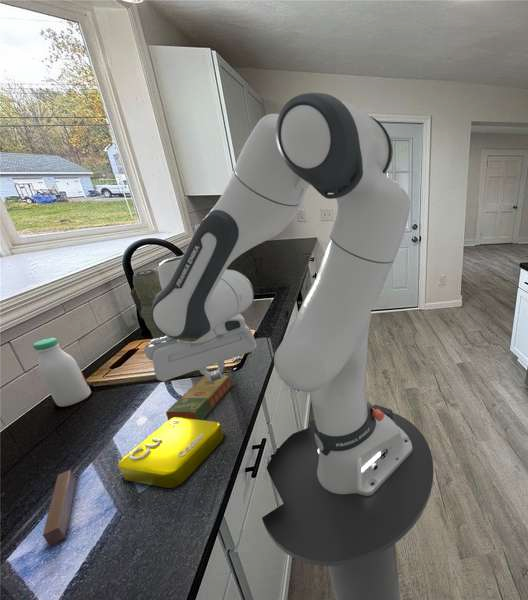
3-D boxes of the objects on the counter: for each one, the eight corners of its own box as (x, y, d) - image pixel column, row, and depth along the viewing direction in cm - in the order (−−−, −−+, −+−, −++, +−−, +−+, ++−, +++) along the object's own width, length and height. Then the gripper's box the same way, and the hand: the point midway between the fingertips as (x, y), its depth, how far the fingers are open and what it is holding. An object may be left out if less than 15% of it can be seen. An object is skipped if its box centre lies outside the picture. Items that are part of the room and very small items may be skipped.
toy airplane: (247, 338, 127) (246, 333, 126) (250, 363, 109) (249, 357, 108) (226, 344, 124) (225, 338, 123) (226, 370, 106) (224, 364, 105)
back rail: (76, 479, 69) (70, 469, 67) (65, 538, 57) (58, 527, 56) (64, 484, 67) (57, 474, 66) (50, 546, 56) (42, 535, 55)
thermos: (167, 364, 111) (131, 270, 98) (203, 359, 113) (173, 266, 100) (154, 379, 103) (113, 278, 90) (193, 373, 105) (158, 274, 92)
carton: (232, 386, 97) (229, 375, 96) (199, 424, 82) (194, 411, 81) (206, 386, 98) (203, 375, 96) (169, 424, 83) (164, 411, 81)
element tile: (177, 490, 65) (169, 473, 63) (119, 480, 68) (111, 463, 66) (227, 435, 78) (222, 420, 77) (178, 428, 81) (172, 414, 80)
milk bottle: (92, 397, 95) (63, 340, 88) (56, 411, 90) (22, 351, 83) (91, 387, 101) (63, 332, 93) (57, 399, 96) (25, 342, 88)
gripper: (141, 348, 61) (164, 405, 66) (251, 318, 73) (263, 368, 78) (140, 337, 65) (161, 391, 71) (244, 310, 77) (255, 358, 82)
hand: (215, 379), depth 74 cm, fingers closed
